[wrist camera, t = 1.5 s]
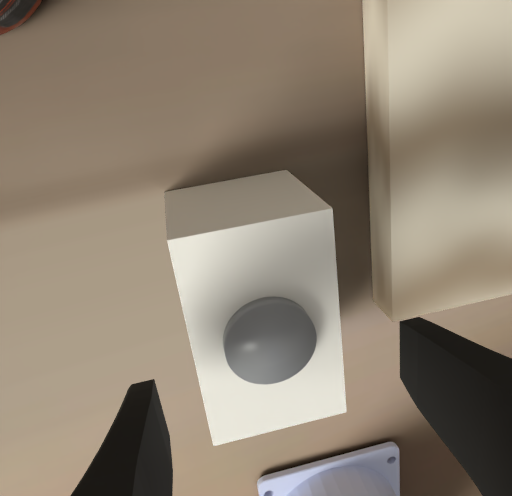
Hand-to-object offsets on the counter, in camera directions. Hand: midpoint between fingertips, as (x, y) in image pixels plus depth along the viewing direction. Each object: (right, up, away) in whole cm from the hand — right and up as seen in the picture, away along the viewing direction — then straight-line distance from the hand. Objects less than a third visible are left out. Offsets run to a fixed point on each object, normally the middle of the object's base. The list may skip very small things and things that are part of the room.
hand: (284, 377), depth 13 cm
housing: (-1, +3, +7) cm, 8 cm away
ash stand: (+11, +9, +7) cm, 16 cm away
